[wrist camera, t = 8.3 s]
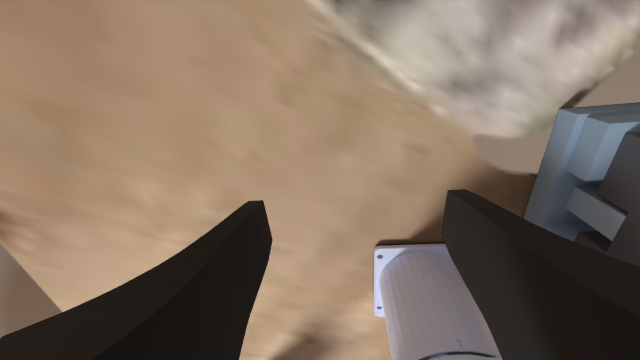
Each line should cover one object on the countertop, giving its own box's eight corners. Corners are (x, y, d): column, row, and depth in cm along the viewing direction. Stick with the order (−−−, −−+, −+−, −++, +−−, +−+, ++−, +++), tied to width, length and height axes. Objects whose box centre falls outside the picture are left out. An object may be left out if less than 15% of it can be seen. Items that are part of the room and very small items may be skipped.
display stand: (588, 245, 22) (652, 296, 17) (513, 247, 22) (557, 298, 18) (662, 100, 16) (785, 121, 12) (559, 108, 17) (639, 131, 12)
